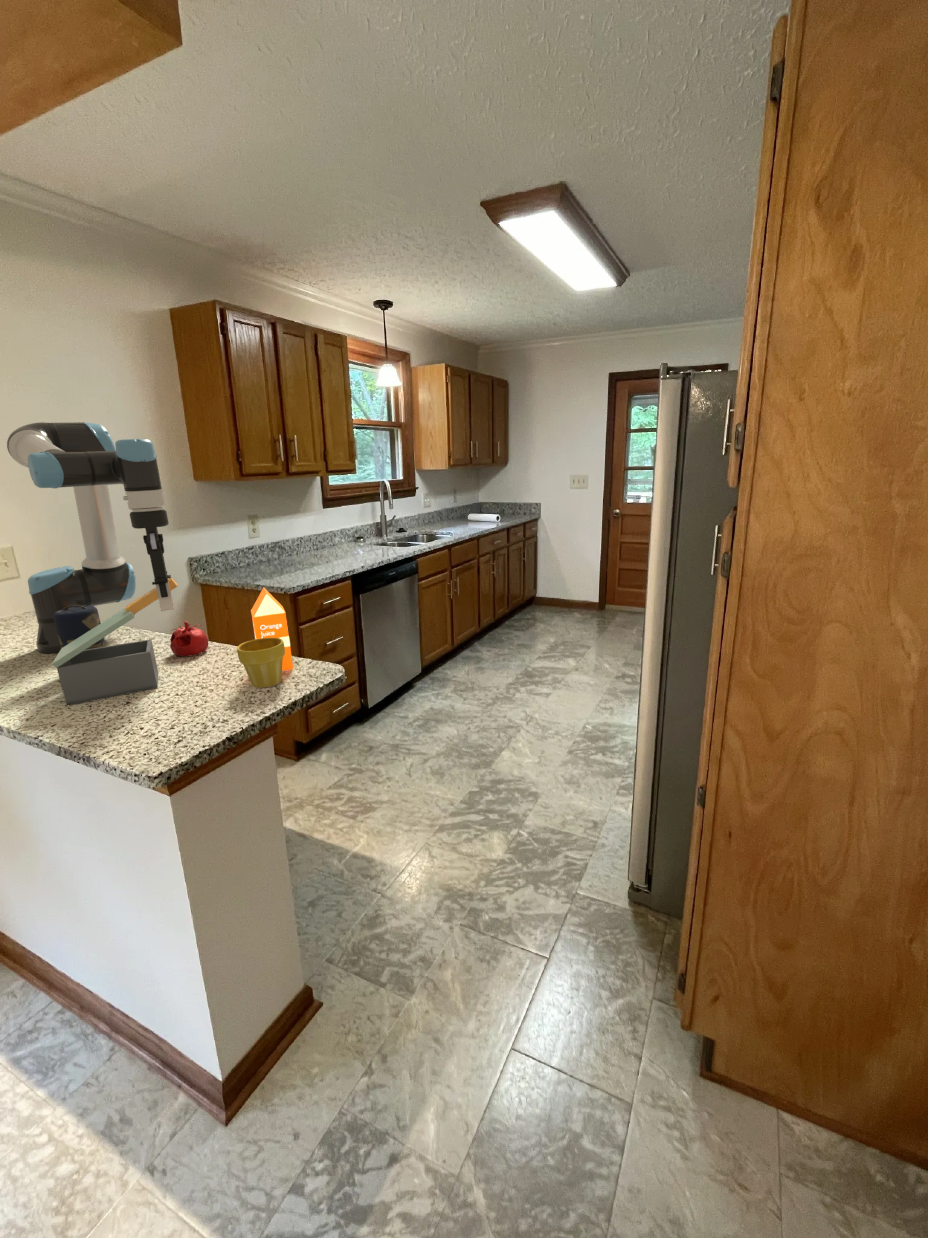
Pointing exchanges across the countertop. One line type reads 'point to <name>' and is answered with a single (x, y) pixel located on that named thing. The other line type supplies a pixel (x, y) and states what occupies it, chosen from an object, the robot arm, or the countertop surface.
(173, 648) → the pomegranate
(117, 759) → the countertop surface
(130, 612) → the lid
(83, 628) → the canister
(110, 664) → the tub
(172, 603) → the robot arm
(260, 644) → the plant pot
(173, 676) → the countertop surface
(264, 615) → the orange juice
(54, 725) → the countertop surface
